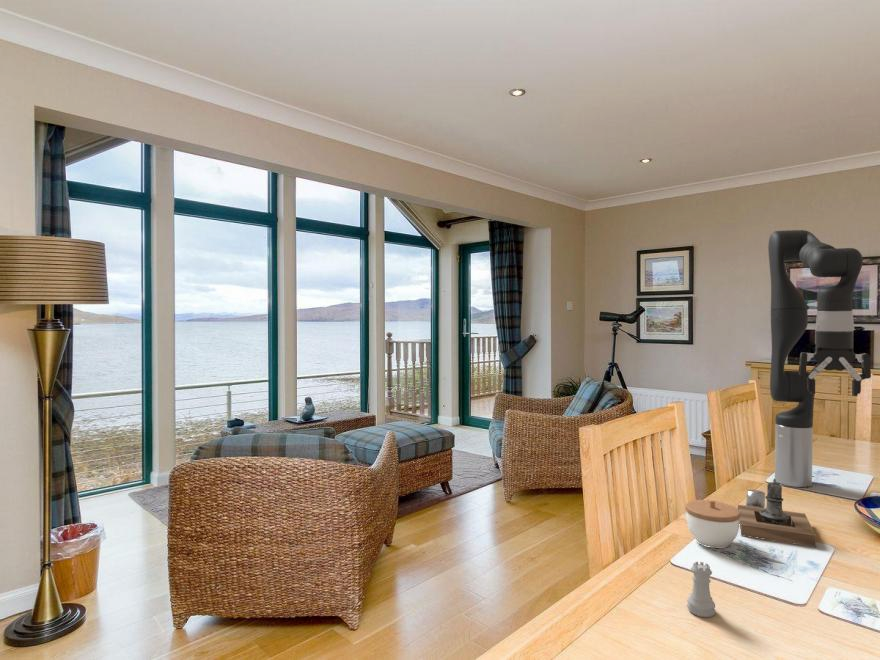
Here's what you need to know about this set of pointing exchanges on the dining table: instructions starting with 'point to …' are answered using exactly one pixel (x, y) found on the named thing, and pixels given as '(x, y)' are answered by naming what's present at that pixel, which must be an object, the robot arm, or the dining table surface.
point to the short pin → (755, 498)
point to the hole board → (776, 527)
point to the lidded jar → (712, 522)
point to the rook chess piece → (701, 592)
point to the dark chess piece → (774, 505)
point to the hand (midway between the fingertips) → (833, 394)
